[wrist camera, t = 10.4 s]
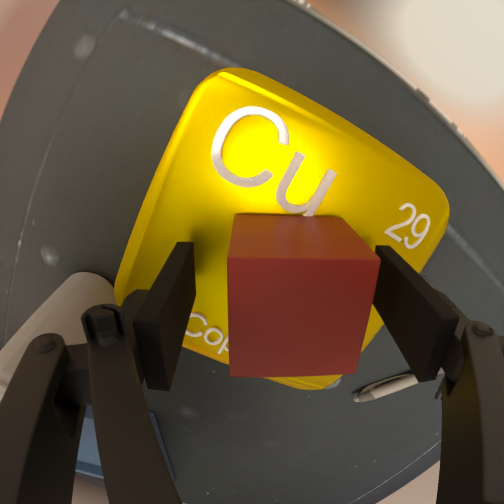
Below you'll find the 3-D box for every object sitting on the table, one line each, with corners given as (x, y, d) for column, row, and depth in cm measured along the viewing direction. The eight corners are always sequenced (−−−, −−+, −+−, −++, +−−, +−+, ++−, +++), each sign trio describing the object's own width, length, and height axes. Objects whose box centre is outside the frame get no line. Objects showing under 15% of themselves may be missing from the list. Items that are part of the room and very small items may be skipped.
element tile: (127, 280, 21) (101, 317, 17) (221, 67, 16) (212, 48, 12) (314, 359, 24) (325, 404, 19) (427, 188, 19) (468, 207, 14)
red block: (234, 310, 17) (229, 377, 12) (233, 214, 15) (226, 257, 10) (330, 309, 17) (355, 374, 12) (342, 217, 15) (381, 259, 10)
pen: (351, 389, 25) (354, 400, 24) (484, 336, 24) (491, 344, 23) (352, 396, 26) (355, 407, 24) (483, 343, 24) (490, 352, 23)
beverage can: (109, 335, 23) (46, 457, 12) (60, 301, 22) (-25, 406, 11) (134, 292, 22) (60, 424, 10) (79, 255, 21) (-26, 360, 9)
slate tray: (65, 455, 31) (60, 466, 29) (23, 386, 26) (15, 398, 24) (175, 478, 31) (173, 491, 29) (154, 412, 26) (149, 429, 24)
